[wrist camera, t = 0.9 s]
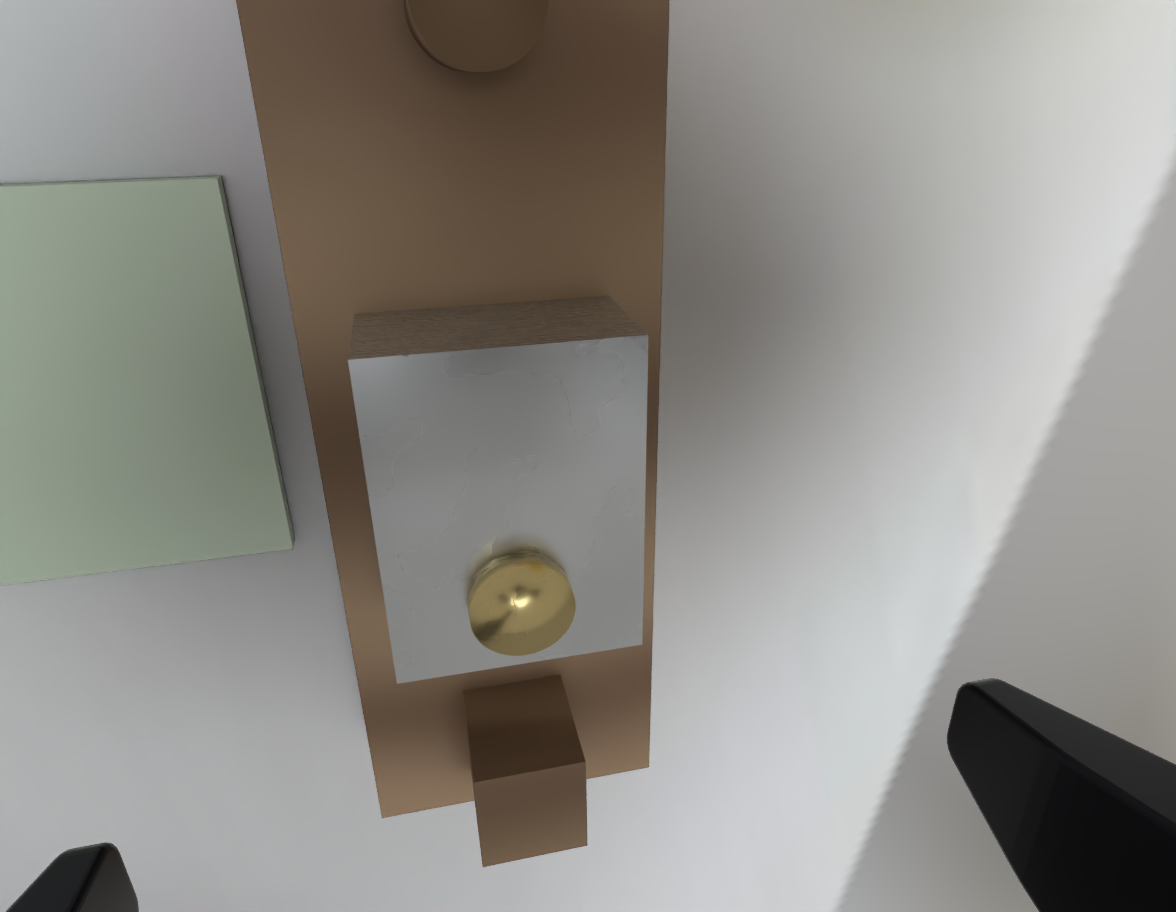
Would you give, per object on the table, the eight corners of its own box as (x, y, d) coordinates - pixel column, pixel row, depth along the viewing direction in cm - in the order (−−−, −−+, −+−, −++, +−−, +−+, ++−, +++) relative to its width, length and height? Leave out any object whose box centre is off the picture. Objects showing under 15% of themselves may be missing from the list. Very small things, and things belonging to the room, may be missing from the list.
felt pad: (294, 540, 19) (293, 549, 18) (-100, 588, 17) (-111, 599, 17) (220, 175, 15) (217, 178, 15) (-285, 194, 13) (-303, 198, 13)
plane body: (623, 685, 23) (689, 855, 18) (376, 727, 21) (373, 923, 16) (628, -70, 15) (749, -139, 10) (239, -77, 14) (156, -161, 9)
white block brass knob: (609, 571, 17) (650, 661, 15) (395, 601, 16) (397, 703, 14) (608, 294, 15) (658, 345, 12) (354, 313, 14) (346, 371, 11)
